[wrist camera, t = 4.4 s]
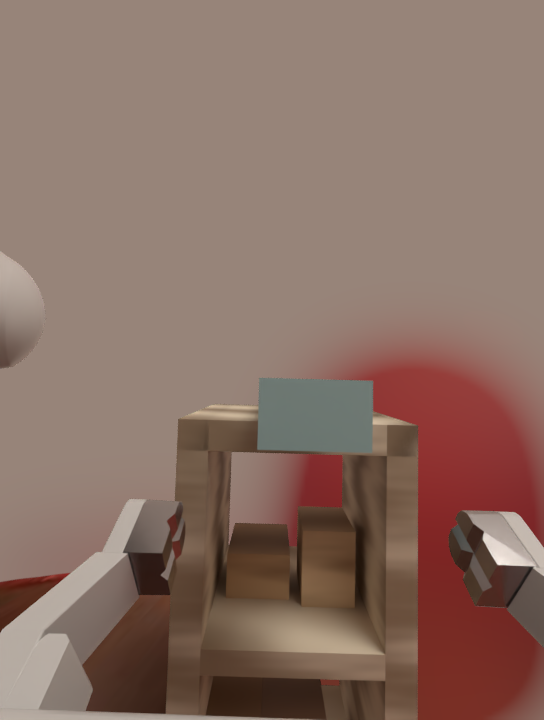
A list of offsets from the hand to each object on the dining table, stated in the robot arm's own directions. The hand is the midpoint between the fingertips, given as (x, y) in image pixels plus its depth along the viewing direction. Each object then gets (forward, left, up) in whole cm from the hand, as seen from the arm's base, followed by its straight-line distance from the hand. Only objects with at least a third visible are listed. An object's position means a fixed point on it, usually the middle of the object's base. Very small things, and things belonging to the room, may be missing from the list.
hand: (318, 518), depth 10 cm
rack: (-13, +9, -24) cm, 29 cm away
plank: (-9, +6, +2) cm, 11 cm away
